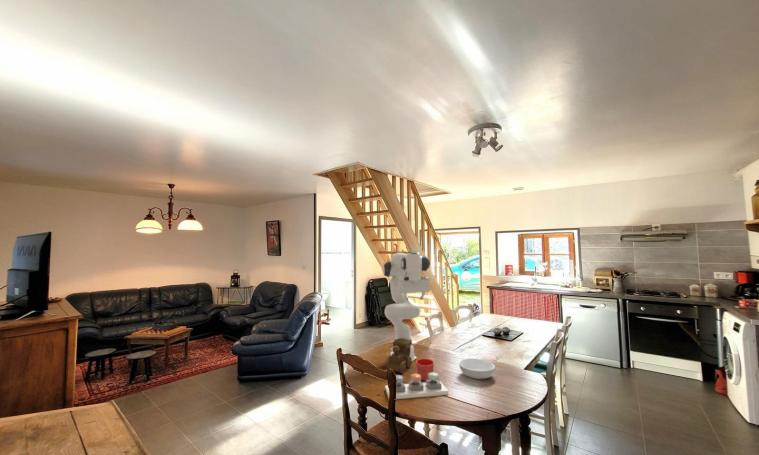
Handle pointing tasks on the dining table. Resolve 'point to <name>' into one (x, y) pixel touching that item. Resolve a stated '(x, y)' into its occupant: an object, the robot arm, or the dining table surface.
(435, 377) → the sage button
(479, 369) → the serving bowl
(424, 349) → the dining table surface
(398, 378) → the slate button
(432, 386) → the console
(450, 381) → the dining table surface
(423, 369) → the flower pot
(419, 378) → the rust button
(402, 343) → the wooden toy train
